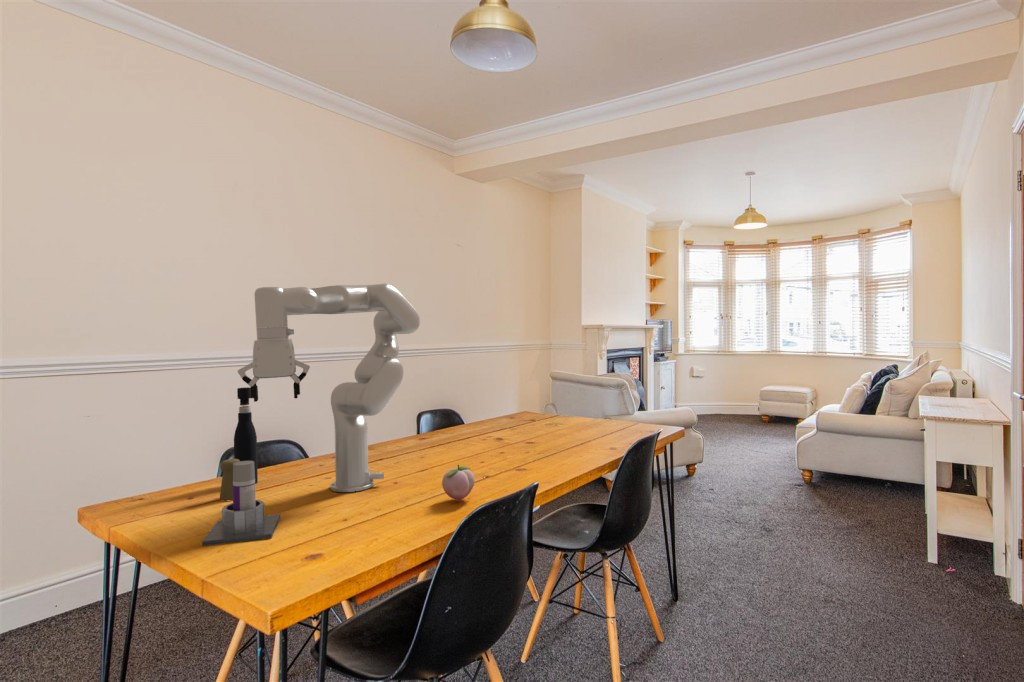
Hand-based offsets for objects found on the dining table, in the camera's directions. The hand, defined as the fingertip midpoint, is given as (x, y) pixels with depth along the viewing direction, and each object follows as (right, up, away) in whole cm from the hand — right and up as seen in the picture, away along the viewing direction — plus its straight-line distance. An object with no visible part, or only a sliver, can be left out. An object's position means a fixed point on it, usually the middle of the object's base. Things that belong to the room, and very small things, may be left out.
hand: (276, 399), depth 139 cm
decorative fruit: (+47, -29, +5) cm, 56 cm away
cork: (-18, -30, +12) cm, 37 cm away
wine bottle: (-21, -30, +26) cm, 45 cm away
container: (-1, -29, -15) cm, 32 cm away
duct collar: (-1, -29, -15) cm, 33 cm away
